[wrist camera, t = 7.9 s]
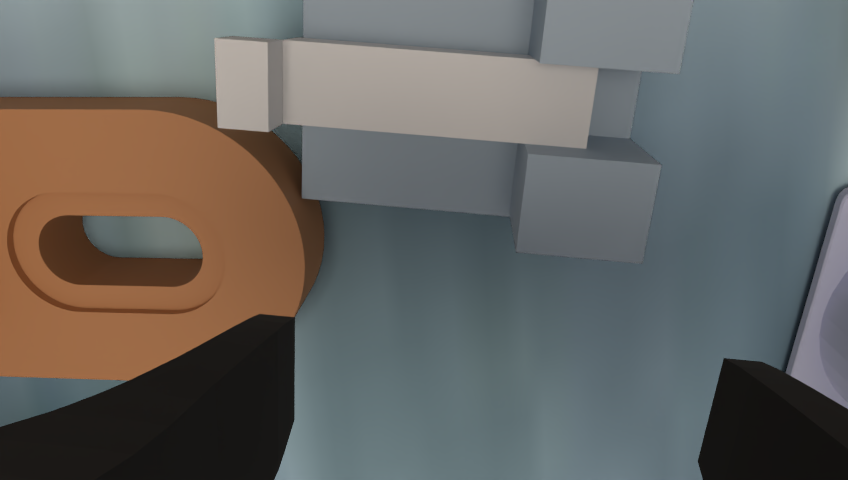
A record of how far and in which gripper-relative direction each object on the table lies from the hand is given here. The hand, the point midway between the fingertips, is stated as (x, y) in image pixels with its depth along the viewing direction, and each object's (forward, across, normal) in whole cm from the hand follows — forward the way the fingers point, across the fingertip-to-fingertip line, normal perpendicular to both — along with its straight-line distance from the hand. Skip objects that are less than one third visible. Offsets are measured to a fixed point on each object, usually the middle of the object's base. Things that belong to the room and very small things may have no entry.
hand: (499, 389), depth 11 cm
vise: (+10, +2, -6) cm, 12 cm away
